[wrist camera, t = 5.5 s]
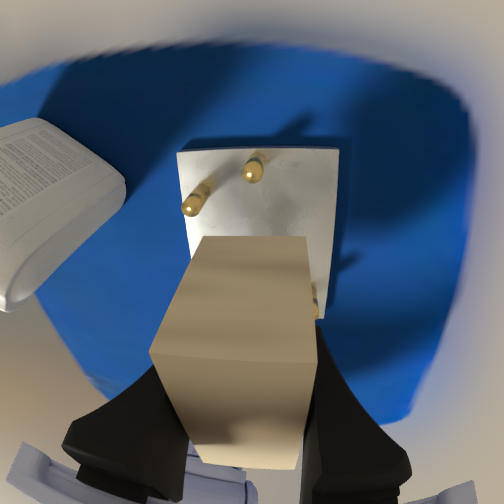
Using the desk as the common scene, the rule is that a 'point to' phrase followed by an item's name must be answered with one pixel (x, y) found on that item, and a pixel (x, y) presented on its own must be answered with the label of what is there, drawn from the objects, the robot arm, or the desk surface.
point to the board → (241, 350)
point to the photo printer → (47, 203)
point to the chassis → (264, 199)
